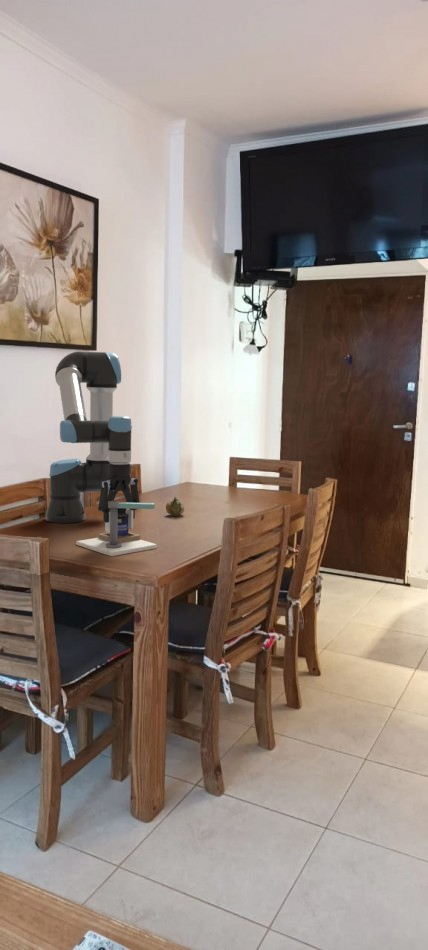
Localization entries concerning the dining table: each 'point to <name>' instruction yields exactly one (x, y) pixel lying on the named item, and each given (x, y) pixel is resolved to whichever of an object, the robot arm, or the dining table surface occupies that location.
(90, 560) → the dining table surface
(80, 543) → the base board
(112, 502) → the keeper arm
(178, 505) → the onion
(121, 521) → the pill bottle
